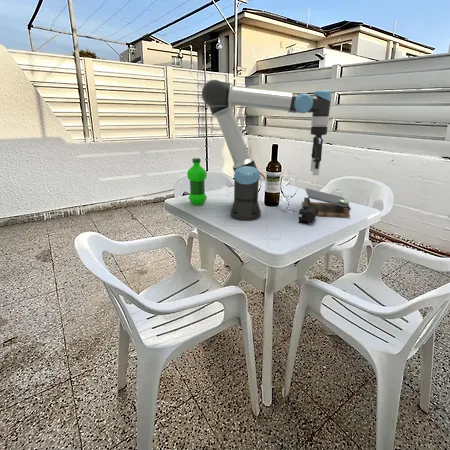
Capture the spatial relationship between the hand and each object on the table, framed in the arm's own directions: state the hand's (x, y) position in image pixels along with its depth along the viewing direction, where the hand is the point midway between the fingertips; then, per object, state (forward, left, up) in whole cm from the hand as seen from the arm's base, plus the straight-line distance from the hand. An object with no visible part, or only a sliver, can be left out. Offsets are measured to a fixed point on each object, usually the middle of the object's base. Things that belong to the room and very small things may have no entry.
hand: (314, 173), depth 148 cm
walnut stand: (+7, 0, -20) cm, 21 cm away
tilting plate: (+7, 0, -13) cm, 15 cm away
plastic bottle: (-61, +1, -20) cm, 64 cm away
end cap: (-3, -17, -20) cm, 26 cm away
